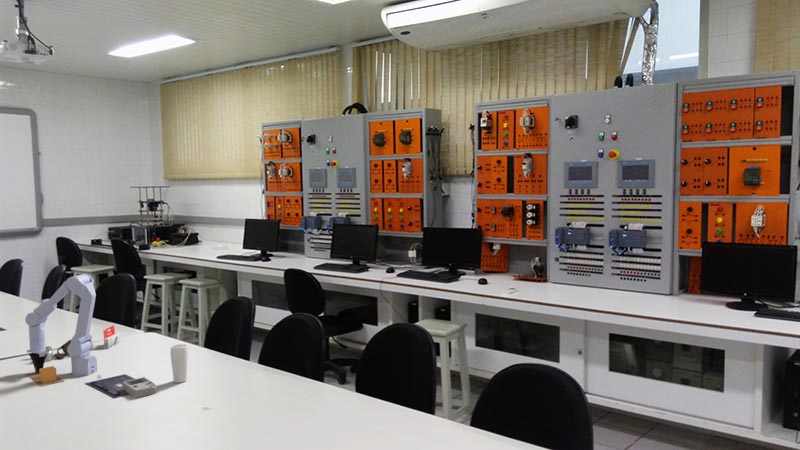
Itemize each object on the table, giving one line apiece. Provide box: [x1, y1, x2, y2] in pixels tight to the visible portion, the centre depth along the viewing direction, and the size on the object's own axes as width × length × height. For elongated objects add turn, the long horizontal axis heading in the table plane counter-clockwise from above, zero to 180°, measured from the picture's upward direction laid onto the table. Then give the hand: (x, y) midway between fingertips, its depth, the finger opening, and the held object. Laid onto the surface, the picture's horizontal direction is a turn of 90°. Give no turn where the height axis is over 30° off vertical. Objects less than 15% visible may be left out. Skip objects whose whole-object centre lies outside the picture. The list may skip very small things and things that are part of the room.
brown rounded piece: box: [53, 339, 71, 360], centre depth 285 cm, size 7×13×10 cm
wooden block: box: [25, 366, 66, 387], centre depth 249 cm, size 24×9×7 cm, turn 45°
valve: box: [44, 346, 54, 363], centre depth 279 cm, size 7×7×12 cm
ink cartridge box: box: [102, 325, 120, 350], centre depth 302 cm, size 2×11×10 cm, turn 179°
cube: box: [39, 365, 58, 383], centre depth 245 cm, size 5×5×5 cm
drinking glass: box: [170, 343, 189, 384], centre depth 246 cm, size 7×7×15 cm
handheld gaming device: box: [122, 376, 158, 399], centre depth 234 cm, size 9×14×4 cm, turn 44°
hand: (38, 369), depth 255 cm, fingers closed on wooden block, 2 cm apart
